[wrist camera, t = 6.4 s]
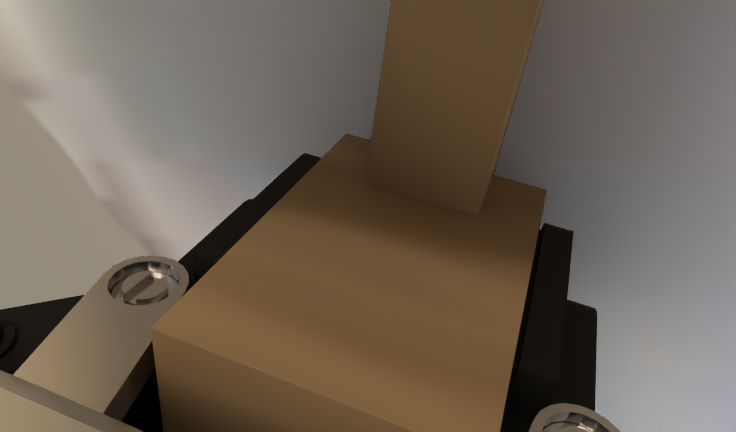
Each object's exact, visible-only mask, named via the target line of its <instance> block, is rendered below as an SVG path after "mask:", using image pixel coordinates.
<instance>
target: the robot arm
mask: <svg viewBox="0 0 736 432" xmlns="http://www.w3.org/2000/svg"><path fill="white" fill-rule="evenodd" d="M320 159H321V158H320V157H317V156H313V155H310V154H306V153H304V154H302V155H301V156H300V157H299V158H298V159H297V160H296V161H294V162H293V163H292V164H291V165H290V166H289V167H288V168H287V169H286V170H285V171H284V172H282V173H281V174H280V175H279V176H278V177H277V178H276V179H275V180H274V181H273V182H271V183H270V184H269V185H268V186H267V187H266V188H265V189H264V190H263V191H262V192H261V193H259V194H258V195H257V196H256V197H255V198H254V199H248V200H247V201H245V202H244V203H243V204H242V205H240V206H239V207H238V208H237V209H236V210H235V211H234V212H233V213H231V214H230V215H229V216H228V217H227V218H226V219H225V220H224V221H223V222H221V223H220V224H219V225H218V226H217V227H216V228H215V229H214V230H213V231H211V232H210V233H209V234H208V235H207V236H206V237H205V238H204V239H203V240H201V241H200V242H199V243H198V244H197V245H196V246H195V247H194V248H193V249H191V250H190V251H189V252H188V253H187V254H186V255H185V256H184V257H182V258H181V259H180V260H179V261H178V262H177V261H175V260H172V259H169V258H166V257H161V256H140V257H135V258H131V259H127V260H124V261H122V262H120V263H118V264H116V265H114V266H112V267H111V268H110V269H109V270H107V271H106V272H105V273H104V274H103V275H102V276H101V277H100V278H99V280H98V281H97V282H96V283H95V284H94V285H93V286H92V287H91V288H90V290H89V291H88V292H87V293H86V294H85V295H81V296H76V297H70V298H64V299H58V300H53V301H48V302H41V303H36V304H30V305H24V306H19V307H13V308H7V309H2V310H0V432H163V424H162V416H161V408H160V400H159V392H158V383H157V375H156V367H155V359H154V351H153V342H152V334H151V327H152V326H153V325H154V324H155V323H156V322H157V321H158V320H159V319H160V318H161V317H162V316H163V315H164V314H165V313H166V312H167V311H168V310H169V309H170V308H171V307H172V306H173V305H174V304H175V303H176V302H177V301H178V300H179V299H180V298H182V297H183V296H184V295H185V294H186V293H187V292H188V291H189V290H190V289H191V288H192V287H193V286H194V285H195V284H196V283H197V282H198V281H199V280H200V279H201V278H202V277H203V276H204V275H205V274H206V273H207V272H208V271H209V270H210V269H211V268H212V267H213V266H214V265H215V264H216V263H217V262H218V261H219V260H220V259H221V258H222V257H223V256H224V255H225V254H226V253H227V252H228V251H229V250H230V249H231V248H232V247H233V246H234V245H235V244H236V243H237V242H238V241H239V240H240V239H241V238H242V237H243V236H244V235H245V234H246V233H247V232H248V231H249V230H250V229H251V228H252V227H253V226H254V225H255V224H256V223H257V222H258V221H259V220H260V219H261V218H262V217H263V216H264V215H265V214H266V213H267V212H268V211H269V210H270V209H271V208H272V207H273V206H274V205H275V204H276V203H277V202H278V201H279V200H280V199H281V198H282V197H283V196H284V195H285V194H286V193H287V192H288V191H289V190H290V189H291V188H292V187H293V186H294V185H295V184H296V183H297V182H298V181H299V180H300V179H301V178H302V177H303V176H304V175H305V174H306V173H307V172H308V171H309V170H310V169H311V168H312V167H313V166H314V165H315V164H316V163H317V162H318V161H319V160H320ZM572 241H573V231H570V230H566V229H563V228H560V227H556V226H553V225H549V224H546V223H544V225H543V227H542V229H541V230H540V229H539V232H538V237H537V242H536V247H535V253H534V258H533V263H532V268H531V273H530V278H529V284H528V289H527V294H526V299H525V304H524V309H523V315H522V320H521V325H520V330H519V335H518V340H517V346H516V351H515V356H514V361H513V366H512V371H511V377H510V382H509V387H508V392H507V397H506V402H505V408H504V413H503V418H502V423H501V428H500V432H620V431H619V430H618V429H617V428H616V427H615V426H614V425H613V424H612V423H611V422H610V421H609V420H607V419H606V418H604V417H603V416H601V415H599V414H598V413H596V412H595V383H596V340H597V311H596V309H595V308H592V307H589V306H586V305H583V304H579V303H576V302H573V301H570V300H567V294H568V283H569V273H570V262H571V252H572Z"/></svg>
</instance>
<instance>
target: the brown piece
mask: <svg viewBox="0 0 736 432" xmlns="http://www.w3.org/2000/svg"><path fill="white" fill-rule="evenodd" d="M543 1H544V0H391V6H390V13H389V20H388V27H387V34H386V41H385V48H384V55H383V62H382V69H381V76H380V83H379V90H378V97H377V104H376V111H375V118H374V125H373V132H372V139H371V141H370V140H367V139H363V138H359V137H356V136H352V135H349V134H346V135H345V136H344V137H343V138H342V139H341V140H340V141H339V142H338V143H337V144H336V145H335V146H334V147H333V148H331V149H330V150H329V151H328V152H327V153H326V154H325V155H324V156H323V157H322V158H321V159H320V160H319V161H318V162H317V163H316V164H315V165H314V166H313V167H312V168H311V169H310V170H309V171H308V172H307V173H306V174H305V175H304V176H303V177H302V178H301V179H300V180H299V181H298V182H297V183H296V184H295V185H294V186H293V187H292V188H291V189H290V190H289V191H288V192H287V193H286V194H285V195H284V196H283V197H282V198H281V199H280V200H279V201H278V202H277V203H276V204H275V205H274V206H273V207H272V208H271V209H270V210H269V211H268V212H267V213H266V214H265V215H264V216H263V217H262V218H261V219H260V220H259V221H258V222H257V223H256V224H255V225H254V226H253V227H252V228H251V229H250V230H249V231H248V232H247V233H246V234H245V235H244V236H243V237H242V238H241V239H240V240H239V241H238V242H237V243H236V244H235V245H234V246H233V247H232V248H231V249H230V250H229V251H228V252H227V253H226V254H225V255H224V256H223V257H222V258H221V259H220V260H219V261H218V262H217V263H216V264H215V265H214V266H213V267H212V268H211V269H210V270H209V271H208V272H207V273H206V274H205V275H204V276H203V277H202V278H201V279H200V280H199V281H198V282H197V283H196V284H195V285H194V286H193V287H192V288H191V289H190V290H189V291H188V292H187V293H186V294H185V295H184V296H183V297H182V298H180V299H179V300H178V301H177V302H176V303H175V304H174V305H173V306H172V307H171V308H170V309H169V310H168V311H167V312H166V313H165V314H164V315H163V316H162V317H161V318H160V319H159V320H158V321H157V322H156V323H155V324H154V325H153V326H152V327H151V334H152V342H153V351H154V359H155V367H156V375H157V383H158V392H159V400H160V408H161V416H162V424H163V432H500V428H501V423H502V418H503V413H504V408H505V402H506V397H507V392H508V387H509V382H510V377H511V371H512V366H513V361H514V356H515V351H516V346H517V340H518V335H519V330H520V325H521V320H522V315H523V309H524V304H525V299H526V294H527V289H528V284H529V278H530V273H531V268H532V263H533V258H534V253H535V247H536V242H537V237H538V232H539V227H540V222H541V216H542V211H543V206H544V201H545V196H546V191H547V190H545V189H542V188H538V187H535V186H531V185H528V184H524V183H520V182H517V181H513V180H510V179H506V178H503V177H499V176H495V175H494V171H495V168H496V164H497V161H498V157H499V154H500V150H501V147H502V143H503V140H504V137H505V133H506V130H507V126H508V123H509V119H510V116H511V112H512V109H513V105H514V102H515V98H516V95H517V91H518V88H519V84H520V81H521V77H522V74H523V71H524V67H525V64H526V60H527V57H528V53H529V50H530V46H531V43H532V39H533V36H534V32H535V29H536V25H537V22H538V18H539V15H540V12H541V8H542V5H543Z"/></svg>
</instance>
